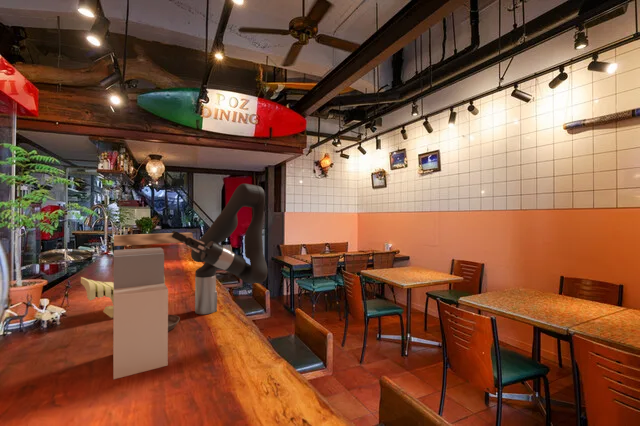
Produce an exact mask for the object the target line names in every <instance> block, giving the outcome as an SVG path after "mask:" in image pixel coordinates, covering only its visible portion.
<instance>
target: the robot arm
mask: <svg viewBox="0 0 640 426" xmlns="http://www.w3.org/2000/svg"><path fill="white" fill-rule="evenodd" d="M265 200H266V194H265V190H264V189H263V187H262V186H259V185H255V184H249V183H241V184H239V185H238V186H237V187H236V188H235V190H234V191H233V193H232V195H231V197H230V199H229V201H228V202H227V203H226V205H225V207H224V208H223V210H222V211H221V212H220V213H219V215H218V216H217V217H216V218H215V220H214V221H213V223H212V224H211V226H210V227H209V228H208V229H207V231H206V232H205V233H204V234H203V235H202V236H201V237H200V238H199V239H197V238H194V237H193V238H189V237H188V236H184V235H182V234H180V233H181V232H178V231H176V230H173V231H171V233H173V235H172V237H173V238H175V239H177V240H179V241H181V242H182V244H183V245H185V246H186V247H187V248H189V249H191V251H190V255H191V256H190V257H191V259H192V260H193V262H196V263H204V264H203V265H201V267H199V268H196V269H195V276H194V277H195V279H194V281H195V283H194V285H195V287H194V289H195V290H194V291H195V292H194V293H195V295H194V296H195V297H194V298H195V299H194V300H195V301H194V312H195V314H198V315H210V314H212V313H215V312H218V291H217V270H218V269H221V270H224V271H226V272H228V273H229V274H232V275H233V276H234V275H235V276H236V277H237V278H239V280H241V281H243V282H244V283H247V284H251V285H252V284H260V283H263V282H265V281H266V280H267V277H268V272H269V271H268V265H267V264H268V263H267V262H266V257H265V255H264V247H263V246H264V245H263V243H264V242H263V226H264V225H263V224H264V223H263V222H264V215H265V214H264V213H265V203H266V201H265ZM242 208H251V209H252V218H251V220H250V223H249V225H248V227H247V229H246V231H245V234H244V238H243V239H244V244H243V245H244V257H245V258H247V259H248V260H249V263H248V262H247V261H246V259H245V258H244V257H243V256H241V255H239V254H237V253H235V252H233V251H232V250H231V249H229V248H227V247H226V246H223V245H221V244H220V243H221V242H223V241H225V240H227V239H228V238H229V237H231V236H232V234H233V233H234V232H235V230H236V229H237V227H238V223H239V220H238V213H239V211H240V210H241V209H242Z"/></svg>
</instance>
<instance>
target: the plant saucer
mask: <svg viewBox="0 0 640 426" xmlns="http://www.w3.org/2000/svg"><path fill="white" fill-rule="evenodd" d="M180 318H181V317H180V316H178V315H176V314H168V332H169V331H171V330H173V329H174V328H175V327H176V326H177V325H178V323H179V321H180V320H181V319H180Z"/></svg>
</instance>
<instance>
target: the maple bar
mask: <svg viewBox="0 0 640 426" xmlns="http://www.w3.org/2000/svg"><path fill="white" fill-rule="evenodd" d="M179 233H180V234H182V235H184V236H188V237H189V238H194V235H193V232H179ZM172 235H173V233H172V232H171V233H170V232H169V233H167V232H166V233H165V232H164V233H140V234H136V233H135V234H134V233H133V234H114V235H113V247H117V246H118V247H119V246H121V247H122V246H123V247H124V246H138V245H140V246H142V245H160V244H176V243H177V244H178V243H179V244H180V243H182V242H181V241H179V240H177V239H175V238H173V237H172ZM182 244H183V243H182Z"/></svg>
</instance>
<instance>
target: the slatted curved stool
mask: <svg viewBox="0 0 640 426" xmlns="http://www.w3.org/2000/svg"><path fill="white" fill-rule="evenodd" d="M165 282H166V277H165V275H164V284H165V285H166V283H165ZM80 284H81V285H82V286H83V287H84V289H85V290H86V291H85V292H86V298H87V300H88V301H92V300H93V301H94V300H95V299H96V298H98V299H99V298H104V297H105V298H109V299H110V300H111V302H112V305H109V306H105V308H103V311H102V312H103V313H104V314H106V315H107V316H108V317H109V318H110V319H113V309H114V281H101V280H100V281H99V280H93V279H90V278H89V279H88V278H86V277H82V276H80Z"/></svg>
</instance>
